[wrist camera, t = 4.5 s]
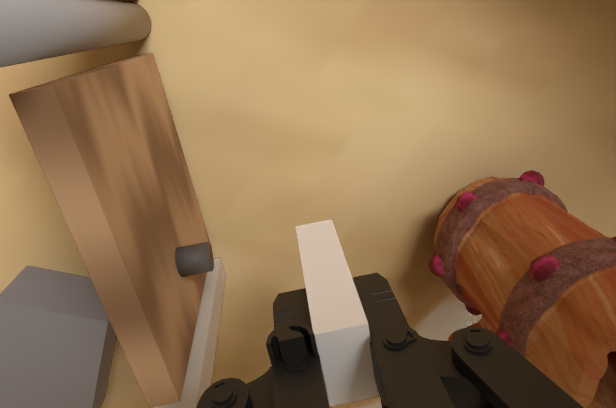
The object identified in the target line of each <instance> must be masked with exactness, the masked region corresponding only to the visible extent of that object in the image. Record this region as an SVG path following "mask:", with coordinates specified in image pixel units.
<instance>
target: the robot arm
mask: <svg viewBox="0 0 616 408" xmlns="http://www.w3.org/2000/svg"><path fill="white" fill-rule="evenodd" d="M295 227H296V233H297V239H298V245H299V251H300V257H301V263H302V269H303V275H304V281H305V287H306V288H304V289H299V290H295V291H290V292H285V293H280V294H278V295H277V297H276V299H275V301H274V303H273V315H274V316H273V317H274V330H273V331H272V332H271V334H270V335H269V336H268V338H267V342H266V346H267V349H268V353H269V357H270V360H271V364H272V366H271V367H270V369H269V370H268V371H267V372H266V373H265V374H264V375H262V376H261V377H259V378H257V379H256V380H254V381H252V382H250V383H248V384H245V383H244V382H243V381H241V380H240V379H235V378H228V379H222V380H220V381H218V382H216V383H214V384H212V385H211V386H210V387H208V388H207V389H206V390H205V391H204V393H203V394H202V396H201V398H200V400H199V402H198V404H197V407H196V408H330V407H332V406H337V405H342V404H346V403H351V402H356V401H361V400H366V399H370V398H375V397H379V395H380V398H381V404H382V408H584V407H582V406H581V405H580V404H579V403H578V402H577V401H575V400H574V399H573V398H572V397H571V396H569V395H568V394H567V393H566V392H565V391H564V390H562V389H561V388H560V387H559V386H558V385H556V384H555V383H554V382H553V381H552V380H551V379H549V378H548V377H547V376H546V375H545V374H543V373H542V372H541V371H540V370H539V369H537V368H536V367H535V366H534V365H533V364H532V363H530V362H529V361H528V360H527V359H526V358H524V357H523V356H522V355H521V354H520V353H519V352H517V351H516V350H515V349H514V348H513V347H511V346H510V345H509V344H508V343H507V342H506V341H504V340H503V339H502V338H501V337H500V336H498V335H497V334H495V333H494V332H492V331H490V330H488V329H484V328H481V327H468V328H463V329H460V330H459V331H457V332H456V333H454V335H453V337H452V339H451V341H438V340H430V339H426V338H423V337H421V336H419V335H418V333H417V332H416V331H415V330H413V329H411V328H410V327H409V325H408V323H407V321H406V319H405V317H404V314H403V312H402V310H401V308H400V306H399V304H398V302H397V300H396V299H395V296H394V294H393V292H392V290H391V287H390V285H389V283H388V281H387V280H386V279H385V278H384V277H382V276H381V275H380V274H378V273H373V274H368V275H363V276H359V277H354V278H352V276H351V273H350V270H349V267H348V264H347V262H346V259H345V256H344V253H343V250H342V247H341V245H340V242H339V239H338V236H337V233H336V230H335V227H334V225H333V222H332V219H330V220H325V221H320V222H315V223H310V224H305V225H300V226H295ZM378 392H379V395H378Z"/></svg>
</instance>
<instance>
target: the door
mask: <svg viewBox="0 0 616 408" xmlns="http://www.w3.org/2000/svg"><path fill="white" fill-rule="evenodd" d="M9 96H10V99H11V101H12V103H13V105H14V108H15V110H16V112H17V114H18V117H19V119H20V121H21V123H22V125H23V128H24V130H25V132H26V134H27V137H28V139H29V141H30V143H31V146H32V148H33V150H34V152H35V155H36V157H37V159H38V161H39V163H40V166H41V168H42V170H43V172H44V175H45V177H46V179H47V181H48V184H49V186H50V188H51V190H52V193H53V195H54V197H55V199H56V201H57V204H58V206H59V208H60V210H61V213H62V215H63V217H64V219H65V222H66V224H67V226H68V228H69V230H70V233H71V235H72V237H73V239H74V242H75V244H76V246H77V248H78V251H79V253H80V255H81V257H82V260H83V262H84V264H85V266H86V268H87V271H88V273H89V275H90V277H91V280H92V282H93V284H94V286H95V289H96V291H97V293H98V295H99V298H100V300H101V302H102V304H103V306H104V309H105V311H106V313H107V315H108V318H109V320H110V322H111V324H112V327H113V329H114V331H115V333H116V336H117V338H118V340H119V342H120V344H121V347H122V349H123V351H124V353H125V356H126V358H127V360H128V362H129V365H130V367H131V369H132V371H133V374H134V376H135V378H136V380H137V382H138V385H139V387H140V389H141V391H142V394H143V396H144V398H145V400H146V403H147V405H148V407H149V408H153V407H157V406H162V405H167V404H172V403H177V402H180V399H181V395H182V390H183V385H184V380H185V376H186V371H187V366H188V361H189V356H190V352H191V347H192V342H193V337H194V333H195V328H196V323H197V318H198V314H199V309H200V304H201V299H202V294H203V290H204V285H205V280H206V275H207V272H211V271H213V269H214V259H213V253H212V247H211V244H210V240H209V237H208V234H207V231H206V227H205V224H204V221H203V217H202V214H201V211H200V207H199V204H198V201H197V197H196V194H195V191H194V187H193V184H192V181H191V177H190V174H189V171H188V167H187V164H186V161H185V157H184V154H183V151H182V147H181V144H180V141H179V137H178V134H177V131H176V128H175V124H174V121H173V118H172V114H171V111H170V108H169V104H168V101H167V98H166V94H165V91H164V88H163V84H162V81H161V78H160V74H159V71H158V68H157V64H156V61H155V58H154V54H153V53H149V54H144V55H138V56H133V57H129V58H126V59H122V60H119V61H116V62H113V63H109V64H106V65H103V66H100V67H96V68H93V69H90V70H87V71H83V72H80V73H77V74H74V75H70V76H67V77H64V78H61V79H57V80H54V81H51V82H48V83H44V84H41V85H38V86H35V87H31V88H28V89H25V90H22V91H18V92H15V93H12V94H9Z"/></svg>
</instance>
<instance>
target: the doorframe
mask: <svg viewBox="0 0 616 408" xmlns="http://www.w3.org/2000/svg"><path fill="white" fill-rule="evenodd" d="M150 30H151V20H150V17H149V15H148V13H147V11H146V10H145V9H144V8H143V7H141V6H140V5H138V4H135V3H127V2H118V1H117V0H0V67H5V66H10V65H16V64H21V63H26V62H31V61H36V60H41V59H46V58H52V57H57V56H62V55H67V54H72V53H77V52H82V51H88V50H93V49H98V48H103V47H108V46H113V45H119V44H124V43H129V42H134V41H139V40H142V39H144V38H145V37H147V35H148V34H149V32H150ZM225 278H226V274H225V271H224V267H223V264H222V261H221V258H216V259H214V269H213V271H211V272H207V275H206V280H205V285H204V290H203V294H202V299H201V304H200V309H199V314H198V318H197V323H196V328H195V333H194V337H193V342H192V347H191V352H190V356H189V361H188V366H187V371H186V376H185V380H184V385H183V390H182V395H181V399H180V402H177V403H172V404H167V405H162V406H157V407H154V408H196V407H197V404H198V402H199V400H200V398H201V396H202V394H203V393H204V391H205V390H206V389H207V388H208V387H210V386H211V382H212V375H213V368H214V360H215V353H216V345H217V338H218V330H219V323H220V316H221V308H222V301H223V293H224V286H225Z"/></svg>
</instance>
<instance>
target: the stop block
mask: <svg viewBox="0 0 616 408" xmlns="http://www.w3.org/2000/svg"><path fill="white" fill-rule="evenodd" d="M115 341H116V333H115V331H114V329H113V327H112V324H111V322H110V320H109V318H108V315H107V313H106V311H105V309H104V306H103V304H102V302H101V300H100V298H99V295H98V293H97V291H96V289H95V286H94V284H93V282H92V280H91V278H88V277H83V276H78V275H73V274H68V273H63V272H58V271H53V270H48V269H43V268H38V267H33V266H28V265H27V266H26V267H25V268H24V269H23V270H22V272H21V273H20V274H19V275H18V276H17V277H16V278H15V279H14V280H13V281H12V282H11V283H10V284H9V285H8V286H7V288H6V289H5V290H4V291H3V292H2V293H1V294H0V408H100V407H101V405H102V402H103V400H104V397H105V393H106V388H107V382H108V377H109V372H110V367H111V362H112V357H113V352H114V346H115Z"/></svg>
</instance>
